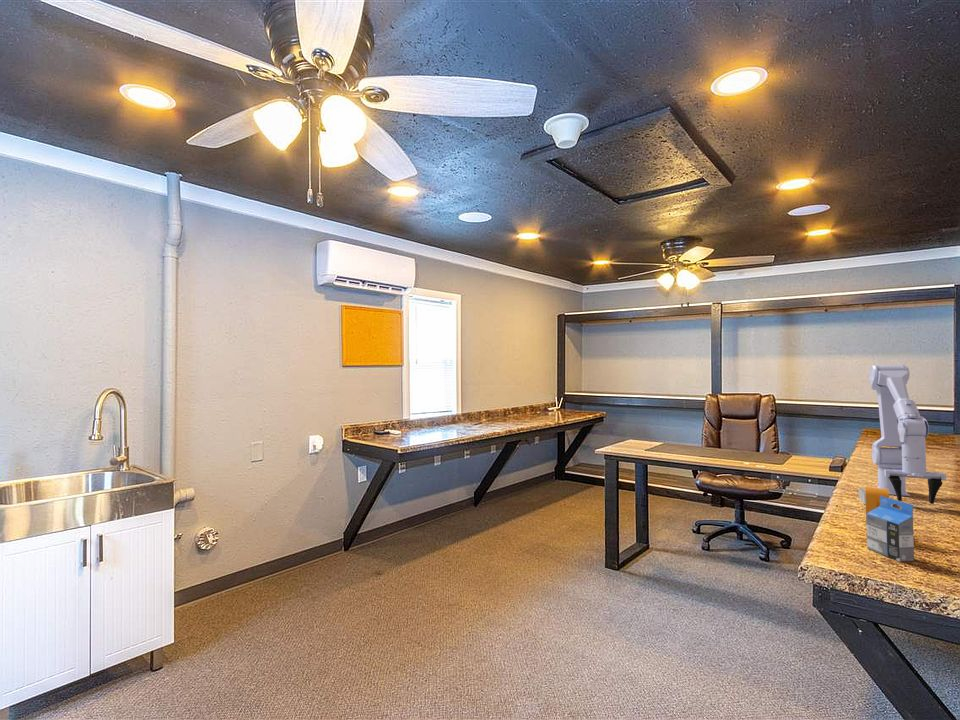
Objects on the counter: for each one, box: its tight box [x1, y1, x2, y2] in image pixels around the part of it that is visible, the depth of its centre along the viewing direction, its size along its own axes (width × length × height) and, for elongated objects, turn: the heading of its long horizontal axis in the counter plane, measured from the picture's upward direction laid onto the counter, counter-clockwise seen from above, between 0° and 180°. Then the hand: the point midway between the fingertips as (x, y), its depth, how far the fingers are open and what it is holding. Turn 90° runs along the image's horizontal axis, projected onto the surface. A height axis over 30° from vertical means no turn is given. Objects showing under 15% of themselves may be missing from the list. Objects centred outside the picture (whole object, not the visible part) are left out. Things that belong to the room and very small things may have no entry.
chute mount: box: [858, 487, 894, 507], centre depth 164 cm, size 10×7×4 cm
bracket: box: [865, 486, 890, 535], centre depth 130 cm, size 11×7×12 cm, turn 142°
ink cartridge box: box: [865, 496, 915, 563], centre depth 117 cm, size 9×4×12 cm, turn 4°
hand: (915, 501), depth 159 cm, fingers open, 7 cm apart
